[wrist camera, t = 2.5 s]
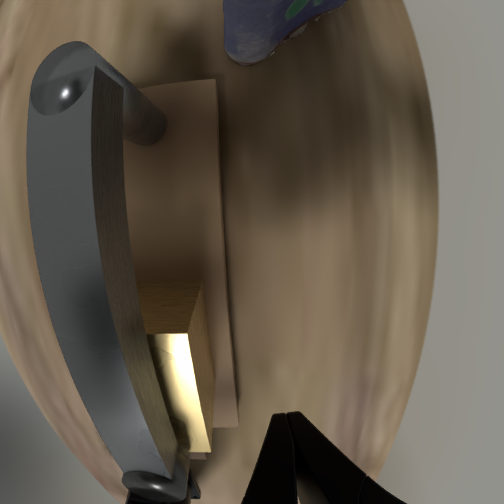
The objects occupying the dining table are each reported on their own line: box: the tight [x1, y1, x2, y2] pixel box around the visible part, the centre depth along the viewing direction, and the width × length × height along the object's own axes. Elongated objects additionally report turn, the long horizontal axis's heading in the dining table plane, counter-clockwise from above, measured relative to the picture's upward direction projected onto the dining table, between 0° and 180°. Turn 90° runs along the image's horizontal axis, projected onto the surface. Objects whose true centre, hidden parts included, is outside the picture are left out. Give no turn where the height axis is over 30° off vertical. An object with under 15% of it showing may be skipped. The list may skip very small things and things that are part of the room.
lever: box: [27, 41, 190, 503], centre depth 9 cm, size 15×2×7 cm, turn 2°
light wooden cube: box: [136, 279, 216, 452], centre depth 11 cm, size 6×4×5 cm, turn 2°
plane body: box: [123, 79, 239, 460], centre depth 13 cm, size 19×6×5 cm, turn 2°
